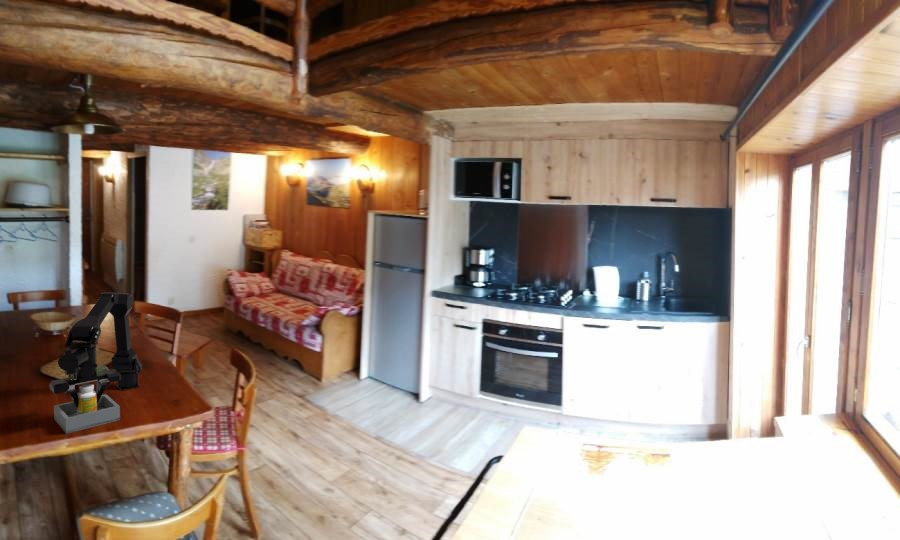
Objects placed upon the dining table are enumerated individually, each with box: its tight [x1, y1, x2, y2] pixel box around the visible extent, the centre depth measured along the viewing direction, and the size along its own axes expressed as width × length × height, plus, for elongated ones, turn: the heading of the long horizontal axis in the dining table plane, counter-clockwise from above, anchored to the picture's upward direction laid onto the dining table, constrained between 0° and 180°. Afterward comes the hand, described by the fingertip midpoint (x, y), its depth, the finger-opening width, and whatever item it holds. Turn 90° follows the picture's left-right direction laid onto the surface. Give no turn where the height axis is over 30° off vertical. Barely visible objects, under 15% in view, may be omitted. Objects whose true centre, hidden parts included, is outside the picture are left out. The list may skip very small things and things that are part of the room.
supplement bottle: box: [77, 383, 97, 415], centre depth 165 cm, size 5×5×10 cm
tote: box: [53, 394, 121, 435], centre depth 166 cm, size 15×14×5 cm
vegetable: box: [67, 365, 110, 380], centre depth 200 cm, size 14×5×5 cm, turn 131°
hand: (87, 404), depth 165 cm, fingers closed on supplement bottle, 5 cm apart
